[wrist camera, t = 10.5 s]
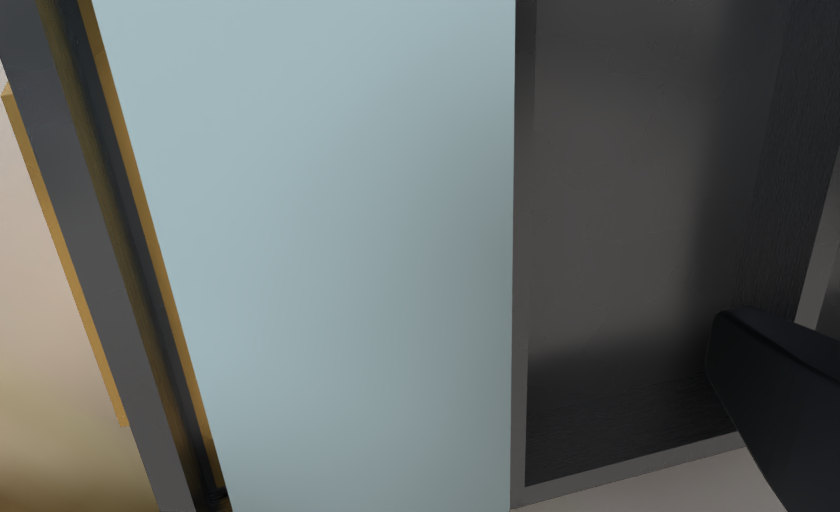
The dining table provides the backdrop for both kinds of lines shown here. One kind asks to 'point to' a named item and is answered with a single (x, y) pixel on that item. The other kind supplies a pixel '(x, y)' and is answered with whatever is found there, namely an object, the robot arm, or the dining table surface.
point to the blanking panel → (335, 238)
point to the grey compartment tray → (532, 225)
